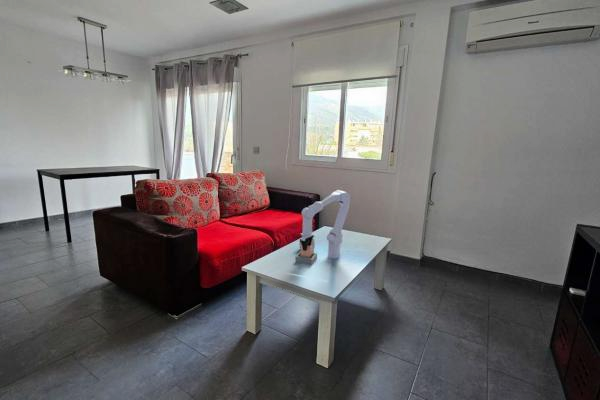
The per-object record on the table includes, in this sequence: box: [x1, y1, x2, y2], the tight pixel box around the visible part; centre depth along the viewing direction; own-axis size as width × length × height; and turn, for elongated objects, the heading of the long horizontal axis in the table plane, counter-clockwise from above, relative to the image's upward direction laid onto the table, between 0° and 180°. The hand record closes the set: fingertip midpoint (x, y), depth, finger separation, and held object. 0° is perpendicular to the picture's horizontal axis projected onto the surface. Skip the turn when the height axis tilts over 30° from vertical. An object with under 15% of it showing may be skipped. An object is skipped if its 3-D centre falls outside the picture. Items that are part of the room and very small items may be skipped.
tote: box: [294, 251, 318, 266], centre depth 175 cm, size 11×11×4 cm
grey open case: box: [298, 238, 316, 251], centre depth 195 cm, size 14×11×8 cm
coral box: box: [300, 246, 314, 256], centre depth 174 cm, size 4×6×5 cm
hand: (306, 248), depth 174 cm, fingers open, 7 cm apart
